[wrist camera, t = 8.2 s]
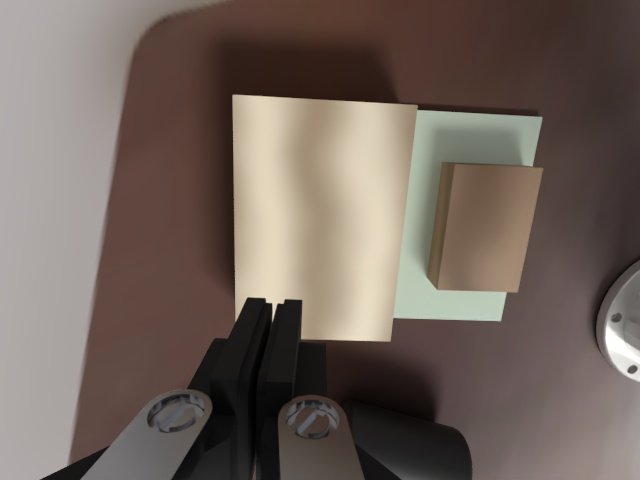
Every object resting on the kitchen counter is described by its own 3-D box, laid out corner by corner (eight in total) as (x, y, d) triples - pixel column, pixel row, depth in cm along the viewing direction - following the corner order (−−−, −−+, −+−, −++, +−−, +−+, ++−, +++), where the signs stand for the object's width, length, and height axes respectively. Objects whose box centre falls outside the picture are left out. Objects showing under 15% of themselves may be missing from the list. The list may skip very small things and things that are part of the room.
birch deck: (401, 109, 26) (417, 105, 22) (379, 315, 30) (390, 341, 26) (243, 100, 25) (232, 94, 21) (245, 311, 30) (235, 337, 26)
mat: (539, 117, 26) (542, 117, 26) (498, 318, 31) (500, 320, 30) (394, 109, 26) (395, 108, 25) (373, 315, 30) (374, 317, 30)
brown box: (455, 164, 24) (442, 161, 27) (437, 290, 27) (426, 277, 29) (543, 168, 25) (523, 165, 27) (517, 292, 27) (501, 279, 29)
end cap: (450, 406, 33) (485, 473, 27) (418, 466, 35) (444, 542, 28) (346, 378, 32) (356, 439, 25) (319, 441, 34) (322, 514, 27)
